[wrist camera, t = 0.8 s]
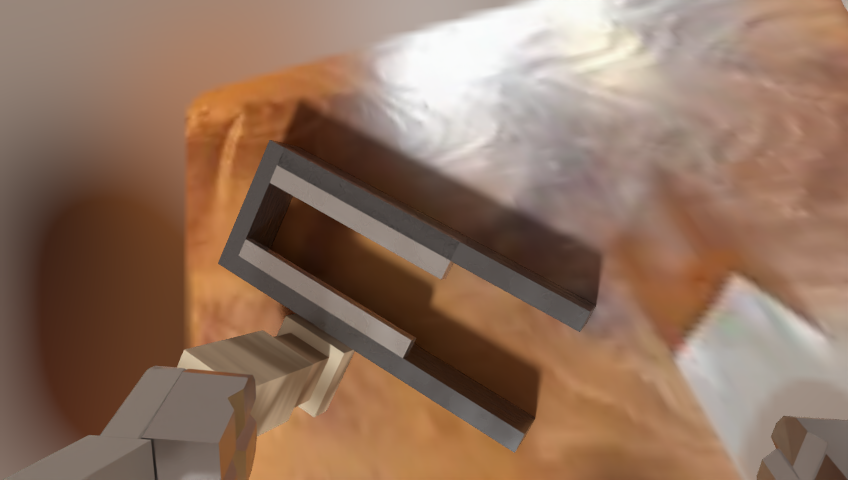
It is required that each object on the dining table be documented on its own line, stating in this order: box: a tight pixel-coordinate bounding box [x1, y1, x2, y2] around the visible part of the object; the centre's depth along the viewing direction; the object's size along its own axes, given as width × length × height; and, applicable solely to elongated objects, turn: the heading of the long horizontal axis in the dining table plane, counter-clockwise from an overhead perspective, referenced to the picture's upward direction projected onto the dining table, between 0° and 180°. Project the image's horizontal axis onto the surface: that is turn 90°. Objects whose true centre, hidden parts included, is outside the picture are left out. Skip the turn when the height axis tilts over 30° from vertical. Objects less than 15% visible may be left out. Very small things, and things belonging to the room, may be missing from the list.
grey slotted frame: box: [218, 140, 596, 453], centre depth 48 cm, size 11×28×4 cm, turn 62°
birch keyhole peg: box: [177, 314, 355, 436], centre depth 46 cm, size 6×6×14 cm
